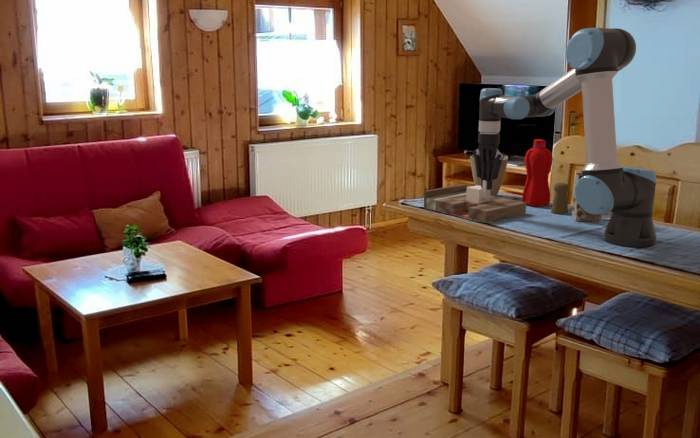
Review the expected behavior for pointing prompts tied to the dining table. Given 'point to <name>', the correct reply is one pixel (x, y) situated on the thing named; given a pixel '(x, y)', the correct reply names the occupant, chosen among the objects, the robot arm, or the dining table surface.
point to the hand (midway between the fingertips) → (486, 197)
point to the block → (475, 194)
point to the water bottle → (537, 175)
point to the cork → (560, 199)
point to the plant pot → (495, 183)
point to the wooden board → (471, 204)
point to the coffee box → (578, 211)
